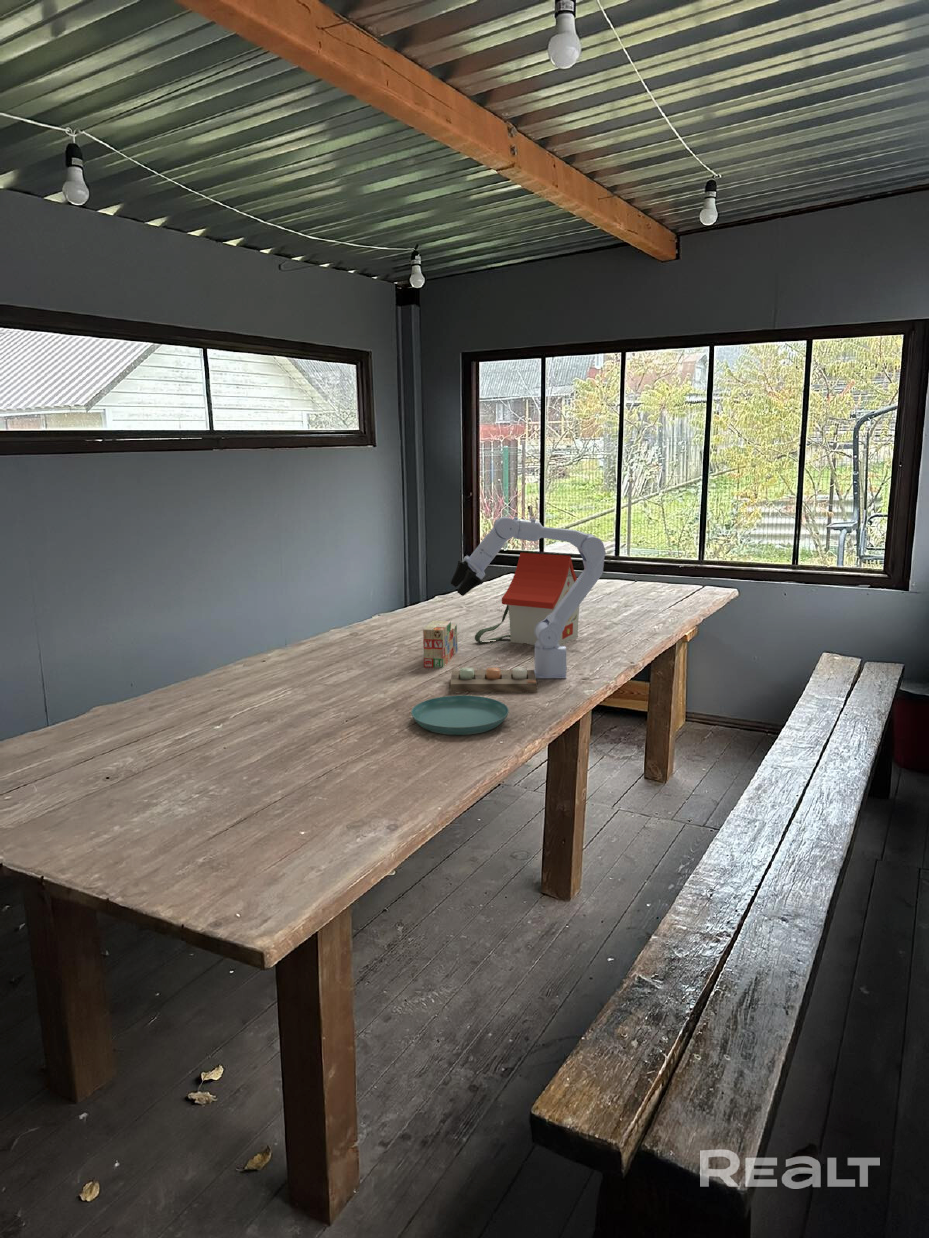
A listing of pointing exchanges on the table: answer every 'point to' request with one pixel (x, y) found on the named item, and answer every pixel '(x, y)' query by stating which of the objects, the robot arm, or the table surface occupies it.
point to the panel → (493, 682)
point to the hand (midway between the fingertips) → (456, 589)
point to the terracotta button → (492, 673)
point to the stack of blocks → (439, 643)
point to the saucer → (460, 714)
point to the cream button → (519, 673)
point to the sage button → (466, 673)
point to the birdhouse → (537, 597)
